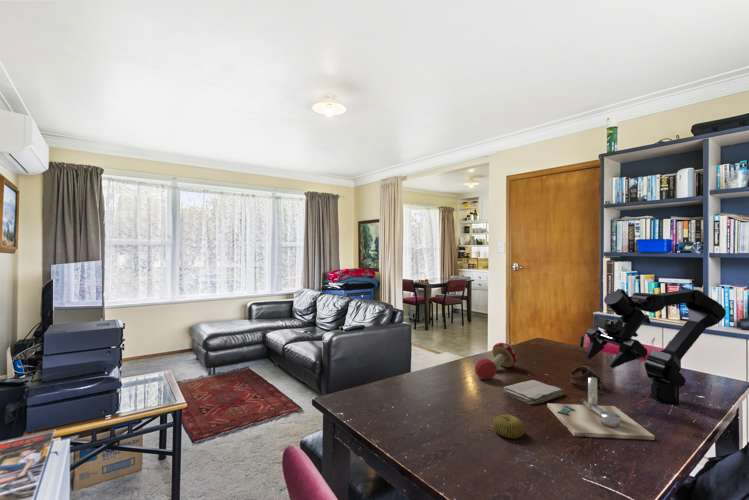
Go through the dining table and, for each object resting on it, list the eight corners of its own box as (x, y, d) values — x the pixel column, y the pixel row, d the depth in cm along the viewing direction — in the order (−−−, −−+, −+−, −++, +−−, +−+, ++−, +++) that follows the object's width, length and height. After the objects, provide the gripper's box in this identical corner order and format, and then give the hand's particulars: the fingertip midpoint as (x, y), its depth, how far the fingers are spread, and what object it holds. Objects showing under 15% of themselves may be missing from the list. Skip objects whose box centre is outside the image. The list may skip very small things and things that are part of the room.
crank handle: (623, 427, 97) (623, 391, 97) (607, 427, 97) (607, 391, 97) (592, 405, 111) (593, 374, 111) (578, 405, 111) (578, 374, 111)
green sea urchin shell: (519, 428, 91) (488, 419, 96) (519, 444, 91) (488, 434, 96) (528, 417, 97) (499, 409, 102) (528, 432, 97) (499, 423, 102)
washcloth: (500, 394, 123) (500, 385, 123) (533, 384, 133) (533, 376, 133) (531, 407, 113) (531, 397, 113) (564, 396, 123) (564, 387, 123)
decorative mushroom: (489, 352, 142) (509, 334, 151) (473, 360, 151) (493, 343, 159) (507, 377, 139) (527, 357, 148) (490, 383, 148) (510, 364, 156)
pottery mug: (606, 395, 124) (593, 374, 124) (577, 401, 129) (565, 381, 129) (604, 376, 134) (592, 357, 134) (577, 382, 139) (566, 363, 139)
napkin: (614, 409, 111) (614, 405, 111) (654, 439, 93) (654, 434, 93) (547, 406, 113) (547, 402, 113) (574, 436, 95) (574, 431, 95)
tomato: (492, 360, 133) (483, 350, 140) (475, 372, 133) (467, 362, 140) (503, 375, 134) (494, 364, 142) (486, 387, 134) (478, 376, 142)
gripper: (589, 304, 124) (561, 338, 122) (638, 313, 106) (606, 354, 104) (609, 325, 126) (583, 359, 124) (661, 338, 107) (631, 379, 105)
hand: (599, 362), depth 114 cm, fingers open, 9 cm apart
